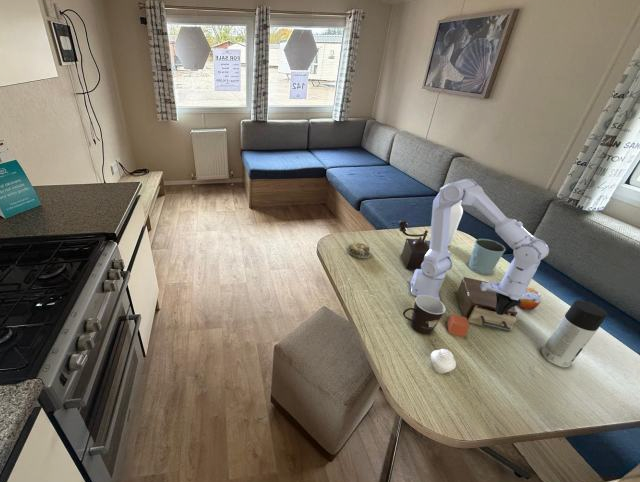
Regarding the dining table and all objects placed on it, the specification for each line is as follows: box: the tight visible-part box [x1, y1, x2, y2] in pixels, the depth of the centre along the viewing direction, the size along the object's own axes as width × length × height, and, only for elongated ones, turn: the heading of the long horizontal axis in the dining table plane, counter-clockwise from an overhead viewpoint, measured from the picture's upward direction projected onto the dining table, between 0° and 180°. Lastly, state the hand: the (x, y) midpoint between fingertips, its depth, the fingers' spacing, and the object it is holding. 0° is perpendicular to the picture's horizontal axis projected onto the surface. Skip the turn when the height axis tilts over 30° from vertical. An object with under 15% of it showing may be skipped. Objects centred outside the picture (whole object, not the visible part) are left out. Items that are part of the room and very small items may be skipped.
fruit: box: [516, 286, 542, 311], centre depth 110 cm, size 8×8×8 cm
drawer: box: [467, 305, 518, 333], centre depth 103 cm, size 18×11×6 cm, turn 159°
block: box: [446, 313, 470, 338], centre depth 99 cm, size 4×4×4 cm
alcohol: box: [448, 200, 464, 247], centre depth 142 cm, size 9×9×30 cm
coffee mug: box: [402, 295, 447, 336], centre depth 99 cm, size 12×9×10 cm
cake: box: [347, 241, 372, 259], centre depth 138 cm, size 10×10×5 cm
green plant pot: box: [468, 238, 507, 276], centre depth 128 cm, size 10×10×12 cm
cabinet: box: [456, 276, 519, 321], centre depth 107 cm, size 15×13×8 cm
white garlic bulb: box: [430, 348, 457, 374], centre depth 86 cm, size 6×6×7 cm
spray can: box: [541, 299, 608, 368], centre depth 87 cm, size 7×7×20 cm
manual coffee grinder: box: [397, 219, 430, 271], centre depth 129 cm, size 16×11×18 cm
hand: (498, 312), depth 96 cm, fingers closed
